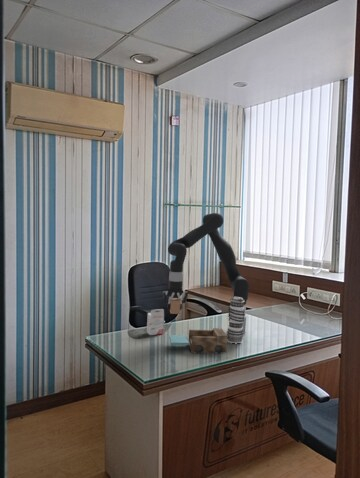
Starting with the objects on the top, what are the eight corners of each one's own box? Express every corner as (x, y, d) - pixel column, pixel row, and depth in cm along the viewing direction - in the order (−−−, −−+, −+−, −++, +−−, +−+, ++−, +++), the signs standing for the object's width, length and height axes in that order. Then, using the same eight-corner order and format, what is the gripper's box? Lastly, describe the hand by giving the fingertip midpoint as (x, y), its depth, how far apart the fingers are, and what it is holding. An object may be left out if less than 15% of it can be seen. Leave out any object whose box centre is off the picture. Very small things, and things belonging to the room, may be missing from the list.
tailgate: (187, 334, 216) (169, 334, 215) (190, 343, 204) (171, 342, 203) (186, 337, 216) (168, 337, 215) (190, 345, 204) (171, 345, 203)
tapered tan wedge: (178, 310, 223) (178, 297, 222) (179, 313, 216) (180, 301, 215) (169, 310, 222) (169, 297, 221) (170, 313, 215) (171, 300, 215)
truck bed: (220, 343, 220) (221, 327, 219) (226, 353, 206) (227, 336, 205) (187, 343, 218) (188, 327, 217) (191, 353, 204) (192, 335, 203)
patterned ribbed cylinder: (223, 339, 228) (226, 296, 225) (237, 338, 231) (240, 295, 229) (231, 344, 219) (234, 300, 217) (245, 343, 223) (249, 299, 220)
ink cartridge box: (159, 331, 235) (161, 306, 234) (163, 333, 231) (164, 308, 230) (146, 332, 232) (147, 307, 230) (149, 335, 227) (151, 310, 226)
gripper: (188, 278, 222) (186, 308, 224) (162, 278, 220) (160, 308, 222) (190, 281, 215) (188, 312, 216) (163, 280, 213) (162, 312, 214)
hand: (174, 310), depth 219 cm, fingers closed on tapered tan wedge, 5 cm apart
